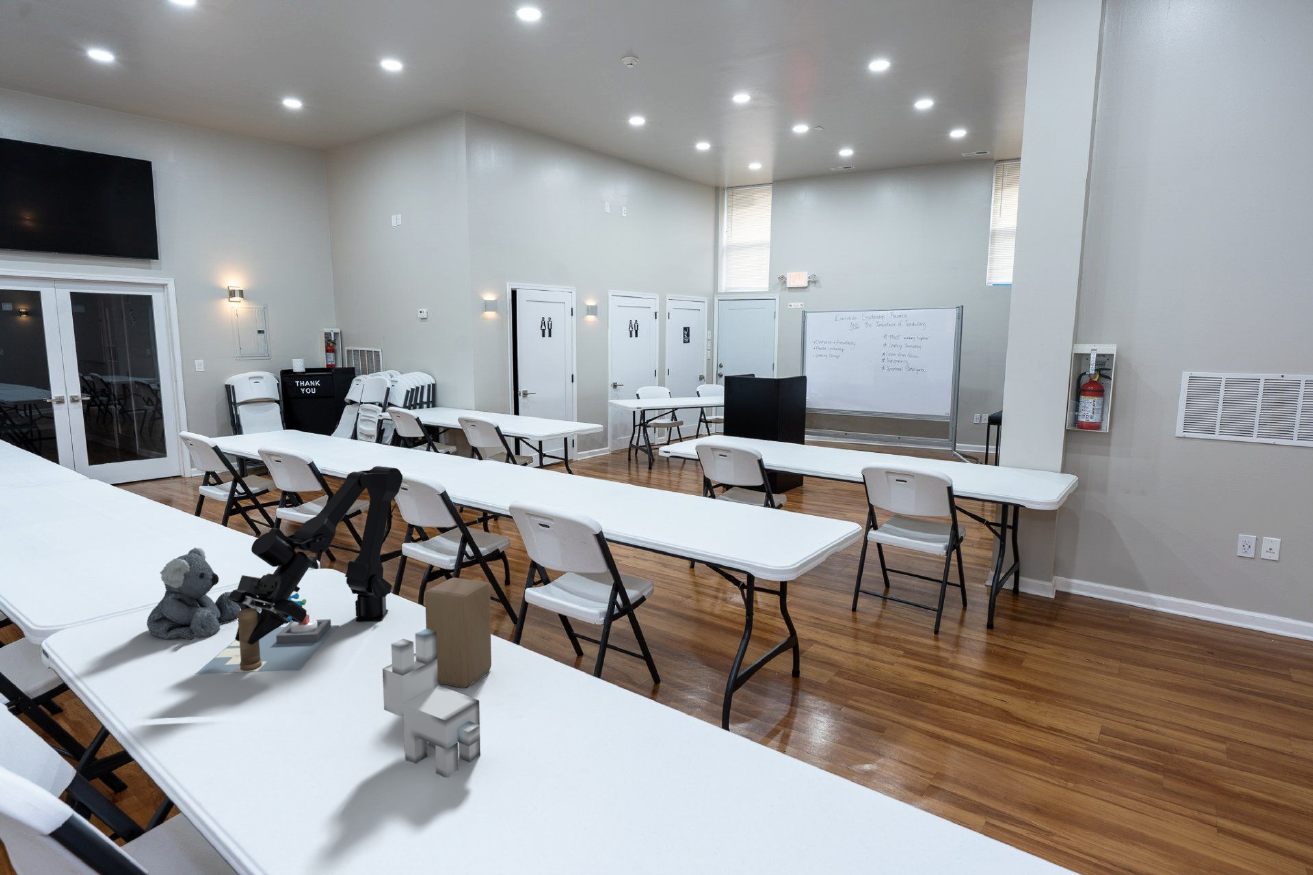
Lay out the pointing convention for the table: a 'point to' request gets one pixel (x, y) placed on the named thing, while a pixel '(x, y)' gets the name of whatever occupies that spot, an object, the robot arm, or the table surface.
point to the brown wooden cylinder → (247, 651)
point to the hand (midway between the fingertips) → (243, 642)
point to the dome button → (304, 626)
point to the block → (460, 629)
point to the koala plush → (190, 600)
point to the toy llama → (430, 706)
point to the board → (275, 650)
